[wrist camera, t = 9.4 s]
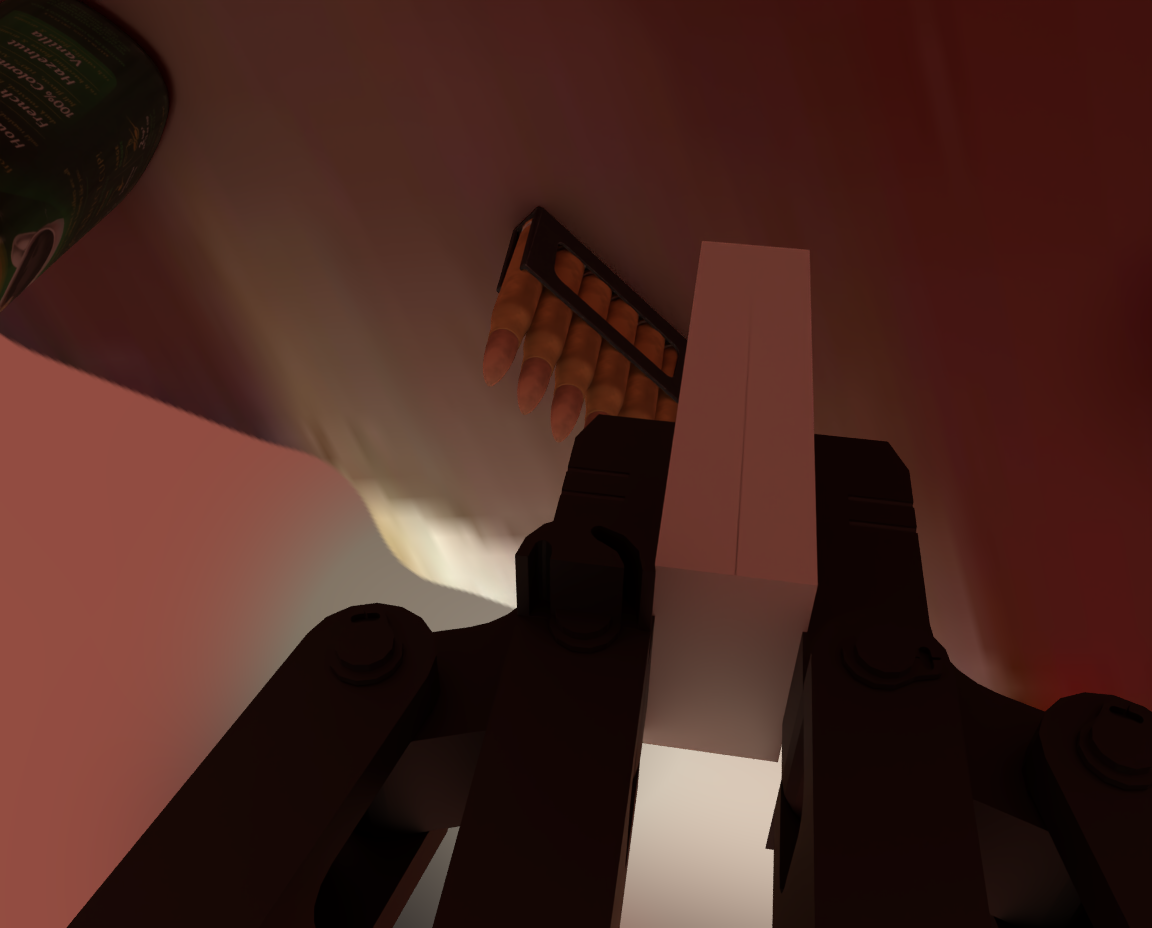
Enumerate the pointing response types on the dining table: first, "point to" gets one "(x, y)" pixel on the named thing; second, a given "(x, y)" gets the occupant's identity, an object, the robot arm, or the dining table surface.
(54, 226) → the coffee jar
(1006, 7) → the dining table surface
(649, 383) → the ammunition clip
